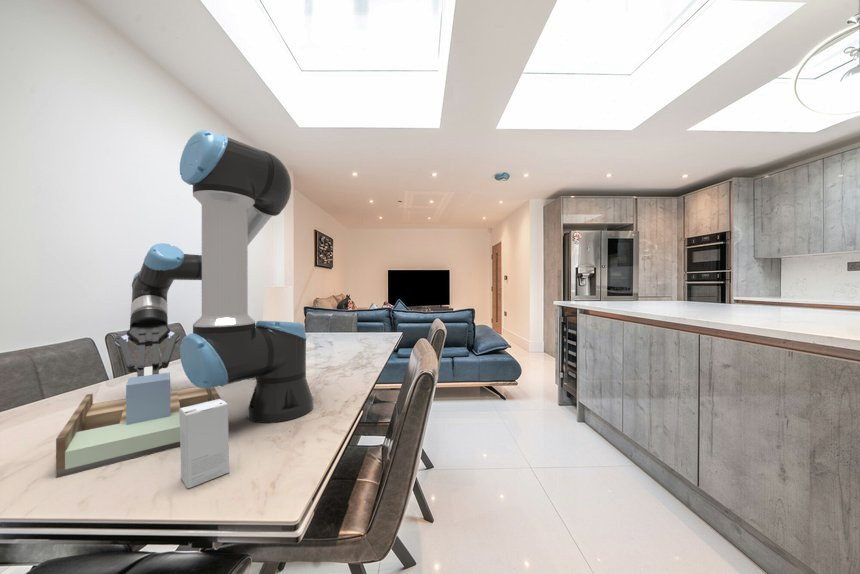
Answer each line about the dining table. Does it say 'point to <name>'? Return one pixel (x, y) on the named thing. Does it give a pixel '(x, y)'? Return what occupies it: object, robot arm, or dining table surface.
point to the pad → (121, 440)
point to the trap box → (114, 414)
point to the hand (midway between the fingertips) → (147, 393)
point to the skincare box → (204, 442)
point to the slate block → (147, 398)
